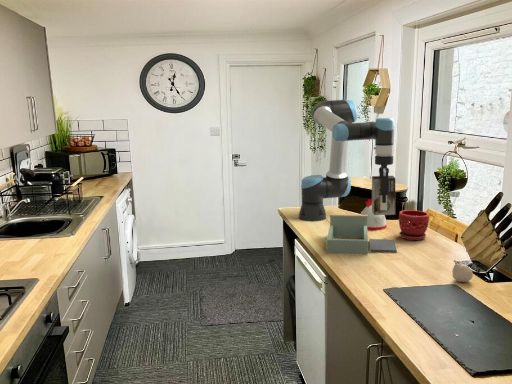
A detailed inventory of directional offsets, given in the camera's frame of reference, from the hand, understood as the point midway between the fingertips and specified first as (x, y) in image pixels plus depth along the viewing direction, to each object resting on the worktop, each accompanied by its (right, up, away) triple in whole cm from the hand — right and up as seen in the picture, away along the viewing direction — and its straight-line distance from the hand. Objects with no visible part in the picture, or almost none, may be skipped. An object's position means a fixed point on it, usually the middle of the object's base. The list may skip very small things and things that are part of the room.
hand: (383, 207), depth 197 cm
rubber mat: (+1, -17, +4) cm, 18 cm away
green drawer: (-14, -17, +8) cm, 23 cm away
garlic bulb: (+18, -25, -36) cm, 48 cm away
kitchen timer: (+4, -11, +35) cm, 37 cm away
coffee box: (0, -3, +1) cm, 3 cm away
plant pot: (+18, -15, +15) cm, 28 cm away
